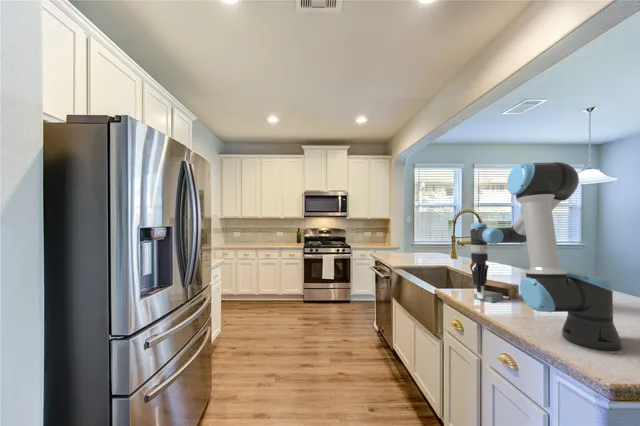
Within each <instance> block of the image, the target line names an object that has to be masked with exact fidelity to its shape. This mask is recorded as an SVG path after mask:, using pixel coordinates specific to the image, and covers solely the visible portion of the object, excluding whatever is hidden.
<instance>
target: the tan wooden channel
mask: <svg viewBox="0 0 640 426" xmlns="http://www.w3.org/2000/svg"><path fill="white" fill-rule="evenodd" d="M484 291H490V292H496V293H501V294H503V296H508V300H509V301H512V300H516V299H518V298H520V284H516V283H509V282H505V281H504V282H503V281H499V280H498V281H497V280H492V279H487V281H486V286H484Z"/></svg>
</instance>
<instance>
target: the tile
mask: <svg viewBox="0 0 640 426" xmlns="http://www.w3.org/2000/svg"><path fill="white" fill-rule="evenodd" d="M473 300H476V301H480V302H481V301H482V302H485V303H490V304H494V303H496V302H499V301H501V300H504V295H503V294H501V293H496V292H490V291H484V299H480V298H477V292H476V293H474V294H473Z"/></svg>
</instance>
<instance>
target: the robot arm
mask: <svg viewBox="0 0 640 426" xmlns="http://www.w3.org/2000/svg"><path fill="white" fill-rule="evenodd" d="M579 177H580V176H579V174H578V172H577V170H576V169H575V168H574V167H573V166H571V165H570V164H568V163H565V162H561V161H560V162H557V161H556V162H528V163H518V164H516V165H515V166H514V167H513V168H511V170H510V172H509V174H508V176H507V180H506V186H507V187H506V188H507V190H508V191H509V192H508V193H510V194H512V195H513V196H515V199H516V202H518V203H519V204H521V208H522V214H521V215H520V216H519V218H518V219H517V220H515V222H514V223H513V224H512V225H511V226H510V227H505V226H504V227H488V225H487V223H485V222H480V223H479V222H478V223H477V222H473V223H471V224H470V252H471V253H470V254H471V255H470V256H471V257H470V259H471V260H472V261H473V263H472V264H473V266H470V270H471V276H472V281H473V285H474V286H476V293H477V298H480V299H484V286H486V281H487V280H488V270H489V265H488V264H486V262H487V261H488V260H489V256H488V250H489V248H488V244H490V245H492V244H493V245H497V244H508V243H509V244H510V243H511V244H512V243H513V244H515V243H517V244H523V243H526V247H527V254H528V261H529V269H528V270H527V271H525V277H524V278H522V279H521V281H520V283H519V293H520V295H521V297H522V299H523V301H524V302H525V303H526V304H527V306H528V307H529V308H531V309H532V310H534V311H536V312H541V313H542V312H543V313H550V314H551V313H565V312H566V313H567V317H566V319H565V321H564V324H563V325H562V326H563V327H562V329H561V332H562V333H561V335H562V338H564V339H565V340H566V341H569V342H571V343H574V344H576V345H579V346H582V347H586V348H590V349H594V350H595V349H596V350H600V351H601V350H602V351H618V350H621V349H622V347H623V345H622V344H623V343H622V342H623V341H622V339H621V336H620V335H619V332H618V330H617V328H616V326H615V323H614V307H613V306H614V303H613V302H614V299H613V297H614V296H613V295H614V291H613V288H612V287H613V286H612V282H611V281H610V279H608V278H606V277H603V276H602V277H601V276H597V275H592V274H585V273H579V272H566V271H565V270H564V269H562V267H561V265H560V264H561V263H560V257H559V250H558V244H557V243H558V242H557V236H556V230H555V223H554V215H553V210H554V209H555V208H556V207H557V206H558V205H559V204H560V203H561V202H564V201H567V200H568V199H569V198H570V197H571V196H572V195H574V193H575V192H576V190H577V188H578V185H579V183H580V182H579V180H580V179H579Z"/></svg>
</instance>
